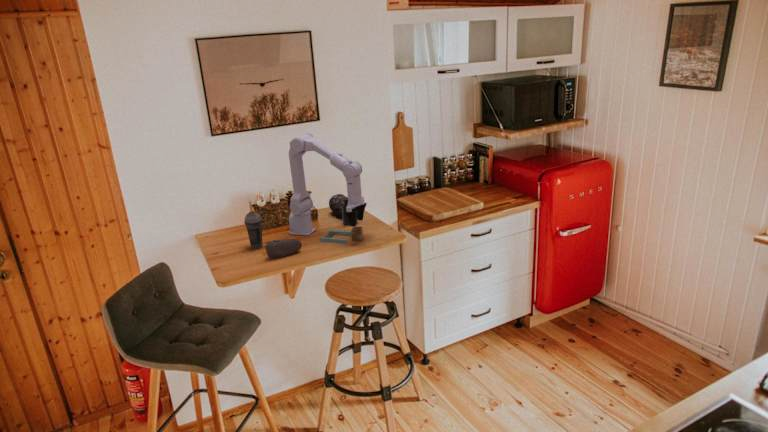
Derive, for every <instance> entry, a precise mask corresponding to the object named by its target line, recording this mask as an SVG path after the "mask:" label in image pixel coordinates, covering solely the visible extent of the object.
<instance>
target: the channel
mask: <svg viewBox="0 0 768 432" xmlns="http://www.w3.org/2000/svg"><path fill="white" fill-rule="evenodd" d="M334 236H351V237H352V233H351V231H346V230H345V231H344V230H330V229H329V230H328V234H326V235H325V236H324V237H319V242H321V243H323V242H324V243H325V242H326V243H333V244H334V243H336V244H347V243H348V240H347V239H346V238H333V237H334Z"/></svg>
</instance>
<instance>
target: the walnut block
mask: <svg viewBox="0 0 768 432" xmlns="http://www.w3.org/2000/svg"><path fill="white" fill-rule="evenodd" d="M350 230H351V231H350V232H351V233H352V236H351V241H352V242H362V240H363V238H364V232H363V231H364V230H363V226H355V227H354V226H352V228H351V229H350Z"/></svg>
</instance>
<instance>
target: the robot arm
mask: <svg viewBox="0 0 768 432" xmlns="http://www.w3.org/2000/svg"><path fill="white" fill-rule="evenodd" d="M308 152H315V153H317V154H319V155H321V156H322V157H324V158H326V159H328V160H329V163H330V165H332V166H333V167H335V169H338V170H339V171H340V172H341V173H342V174H343V176H344V178H345V182H346V193H347V197H348V205H347V207H346V210H345V211H344V213H345V214H346V216H347V217H348V220H349V222H350V225H349V226H351V227H357V224H356V220H357V221H364V214H365V209H366V207H367V202H365V198H364V196H363V195H362V184H361V183H362V182H361V175H362V173H363V167H362V164H360V163H359V162H358V161H353V160H352V159H349V158H347V157H346V156H345V155H344V154H343V153H342V152H338V151H337V152H334V151H332V150H331V149H329V148H328V147H327V146H326V145H325V144H323V143H322V142H321V141H319V139H318V137H317V136H314V135H313V134H312V133H305V134H304V135H300V136H295V137H294V138H292V139H291V140H290V141H289V150H288V158H289V159H288V161H289V165H290V167H289V168H290V173H291V182H292V189H293V194H292V196H291V197H290V204H289V210H290V212H291V213H290V214H289V217H288V223H289V224H288V225H289V235H295V236H310V235H311V234H312V233H314V232H315V231H316V230H317V228H314V227H313V223H312V214H311V212H312V208H313V207H314V202H313V199H312V197H311V193H309V192H308V191H307V186H306V179H305V178H306V177H305V170H304V161H303V156H304V155H305V154H306V153H308ZM354 208H355V210H354Z"/></svg>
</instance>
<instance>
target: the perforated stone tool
mask: <svg viewBox="0 0 768 432" xmlns="http://www.w3.org/2000/svg"><path fill="white" fill-rule="evenodd" d="M265 243H266V245H265V247H264V248H265V253H266V255H267V256H268V258H269V259H277V258H281V257H286V256H289V255H292V254H295V253H297V252H299V251H300V250H301V248H302V246H303V245H302V242H301V241H300V240H298V239H295V238H281V239H276V240H269V241H266V242H265Z"/></svg>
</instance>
